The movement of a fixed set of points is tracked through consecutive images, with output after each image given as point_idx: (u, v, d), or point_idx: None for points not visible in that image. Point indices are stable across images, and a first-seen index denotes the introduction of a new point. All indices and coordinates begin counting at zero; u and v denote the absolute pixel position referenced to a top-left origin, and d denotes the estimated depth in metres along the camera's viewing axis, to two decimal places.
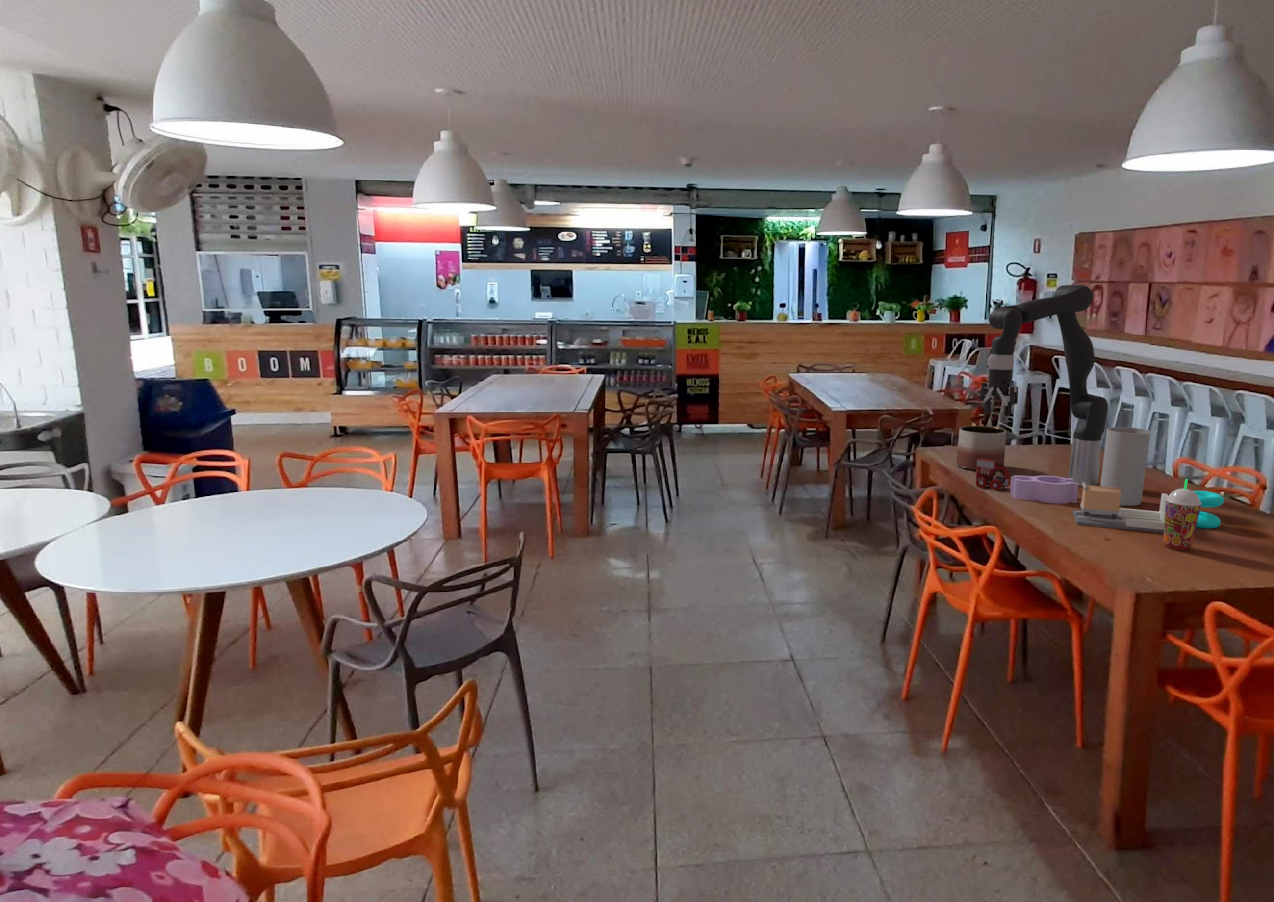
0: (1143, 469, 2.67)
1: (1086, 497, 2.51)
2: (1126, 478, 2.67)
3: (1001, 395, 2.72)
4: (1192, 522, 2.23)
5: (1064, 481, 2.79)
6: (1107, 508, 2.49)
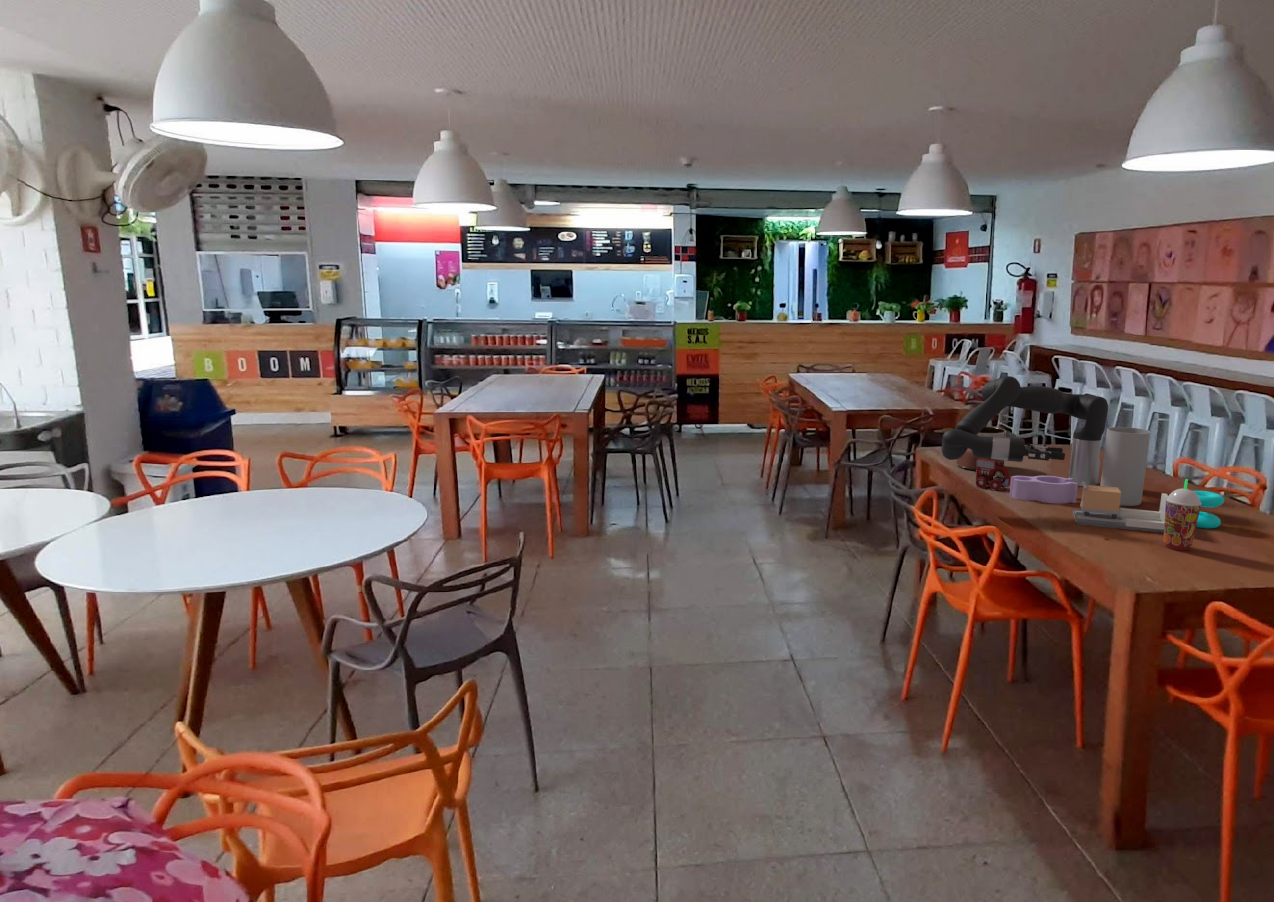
0: (1143, 469, 2.67)
1: (1086, 497, 2.51)
2: (1126, 478, 2.67)
3: None
4: (1192, 522, 2.23)
5: (1063, 481, 2.79)
6: (1107, 508, 2.49)
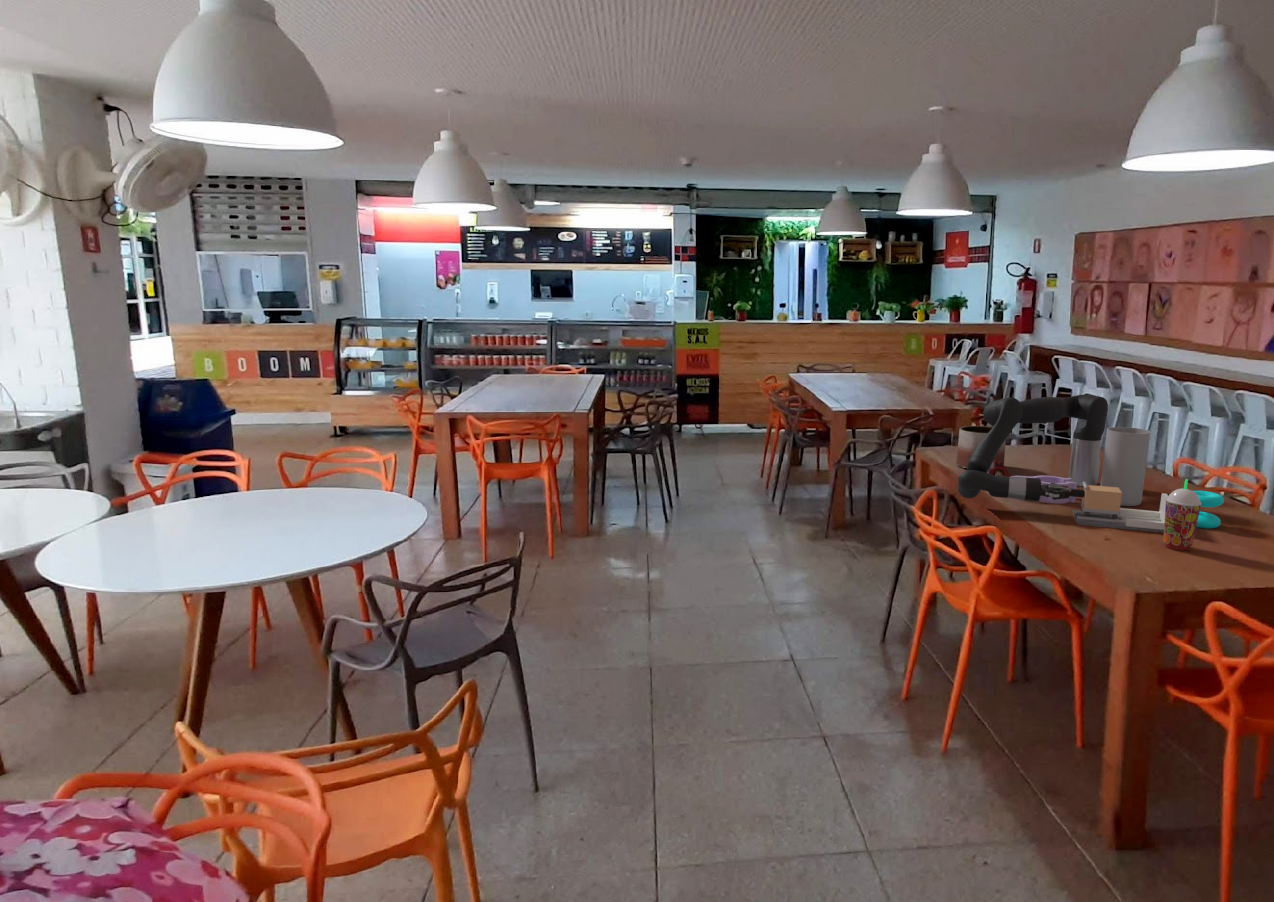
0: (1143, 469, 2.67)
1: (1087, 497, 2.51)
2: (1126, 478, 2.67)
3: None
4: (1192, 522, 2.23)
5: (1062, 481, 2.80)
6: (1108, 508, 2.49)
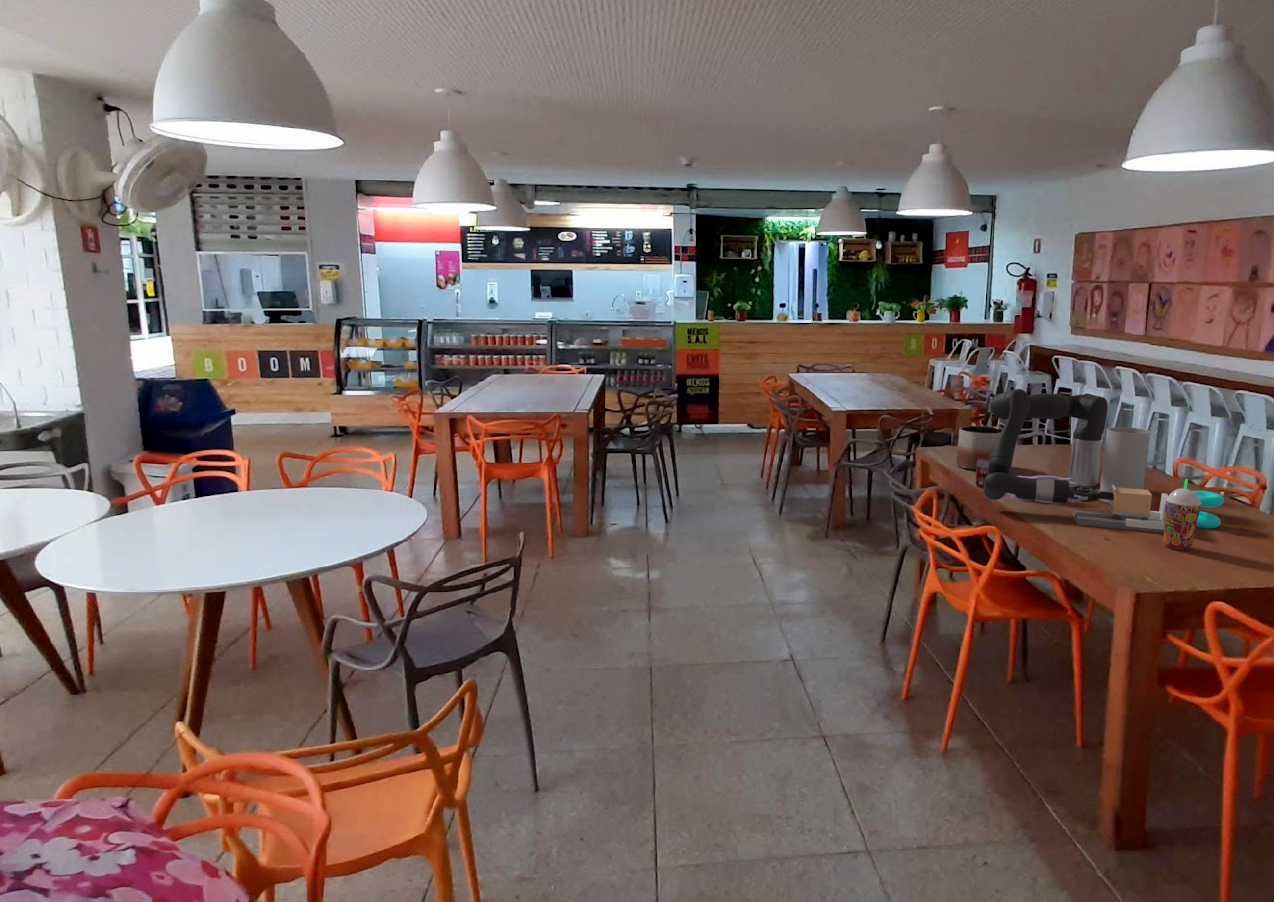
0: (1143, 469, 2.67)
1: (1116, 500, 2.47)
2: (1126, 478, 2.67)
3: None
4: (1192, 522, 2.23)
5: None
6: (1137, 511, 2.46)
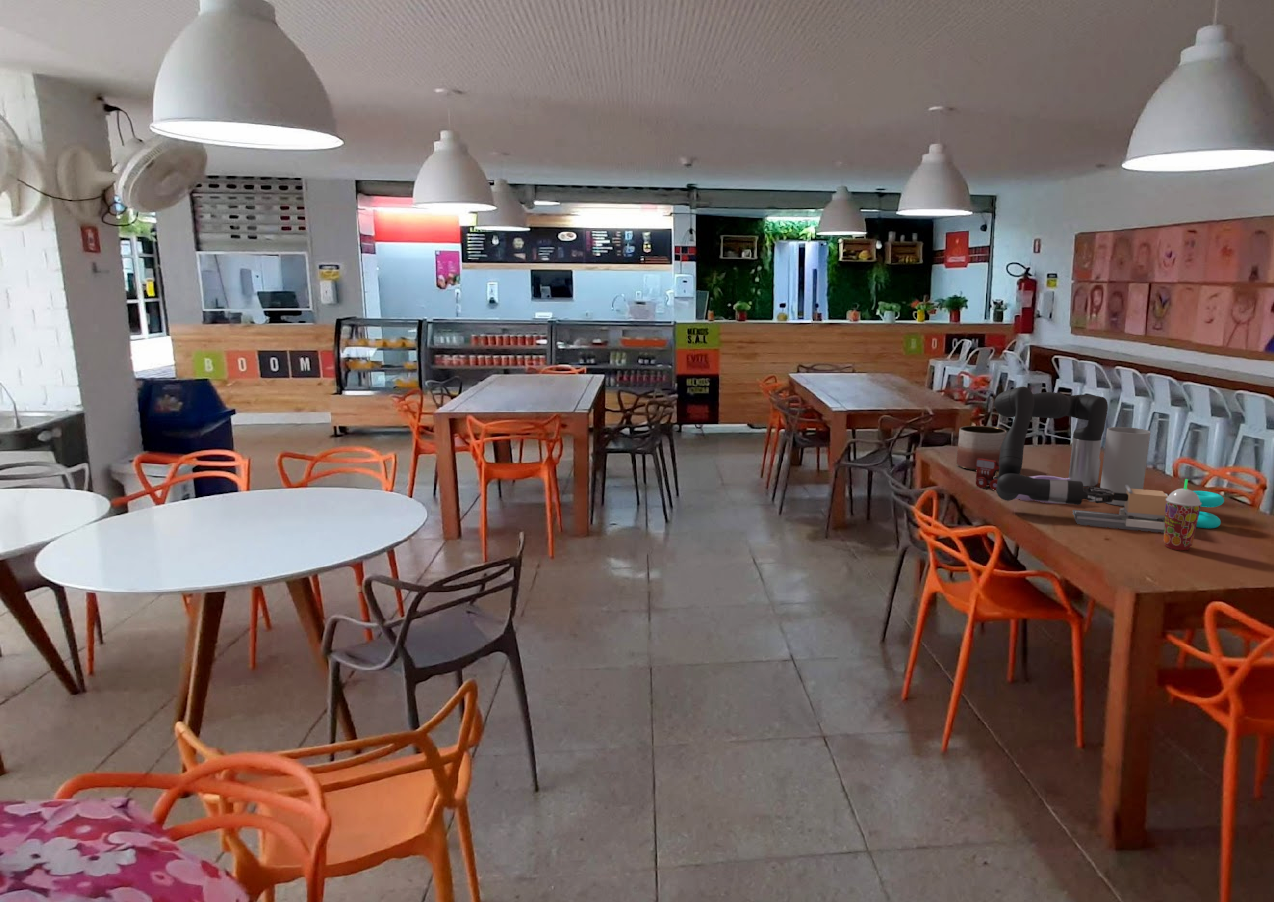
0: (1143, 469, 2.67)
1: (1130, 501, 2.46)
2: (1126, 478, 2.67)
3: None
4: (1192, 522, 2.23)
5: None
6: (1152, 512, 2.44)
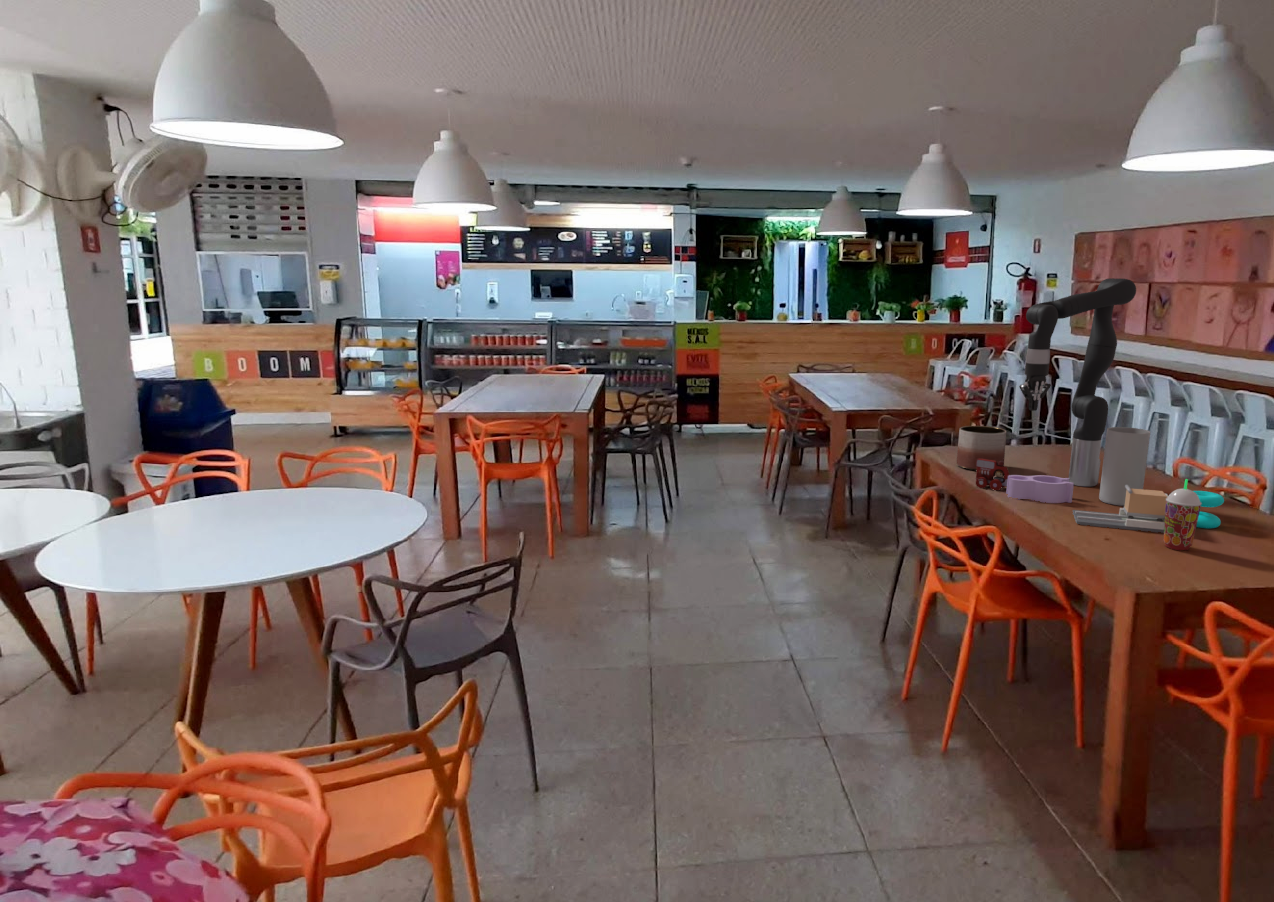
0: (1143, 469, 2.67)
1: (1130, 501, 2.46)
2: (1126, 478, 2.67)
3: None
4: (1192, 522, 2.23)
5: (1060, 481, 2.80)
6: (1152, 512, 2.44)
